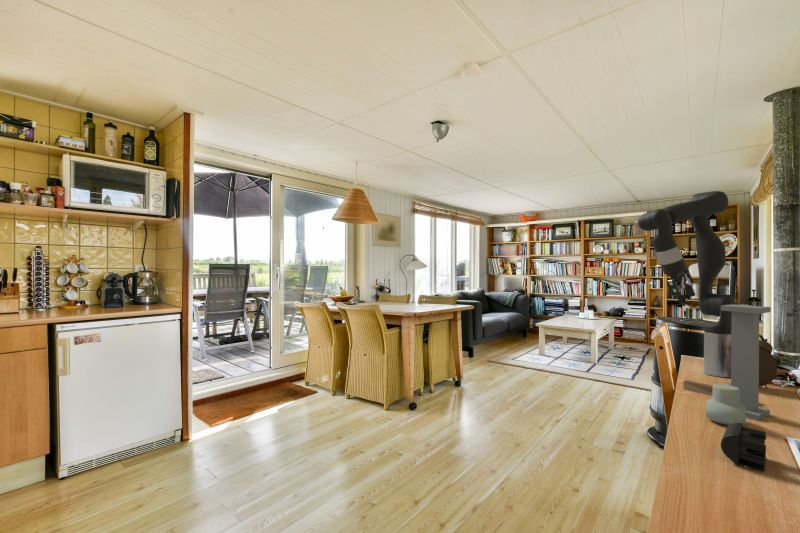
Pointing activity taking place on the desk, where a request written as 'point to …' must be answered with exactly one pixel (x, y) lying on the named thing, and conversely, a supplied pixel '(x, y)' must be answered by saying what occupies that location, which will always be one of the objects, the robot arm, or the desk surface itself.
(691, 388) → the mallet
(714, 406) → the air freshener
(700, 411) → the desk surface
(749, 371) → the stand
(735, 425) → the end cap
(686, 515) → the desk surface
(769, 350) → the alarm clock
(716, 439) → the desk surface
